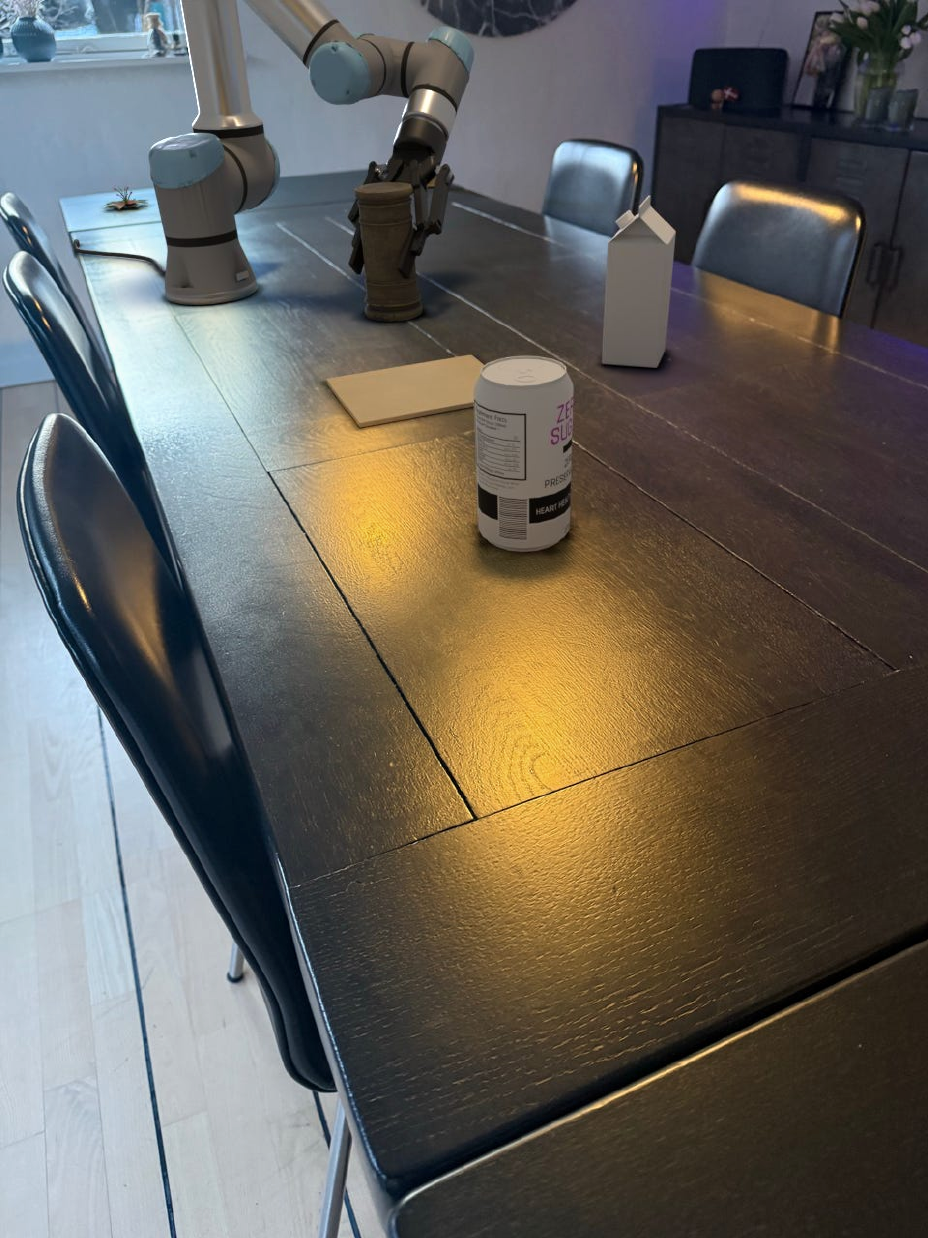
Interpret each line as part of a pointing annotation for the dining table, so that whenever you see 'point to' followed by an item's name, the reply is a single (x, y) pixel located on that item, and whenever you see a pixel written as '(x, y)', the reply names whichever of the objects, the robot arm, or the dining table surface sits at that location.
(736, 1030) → the dining table surface
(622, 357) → the milk carton
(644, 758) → the dining table surface
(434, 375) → the mat
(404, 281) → the container
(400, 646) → the dining table surface
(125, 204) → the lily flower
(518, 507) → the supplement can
